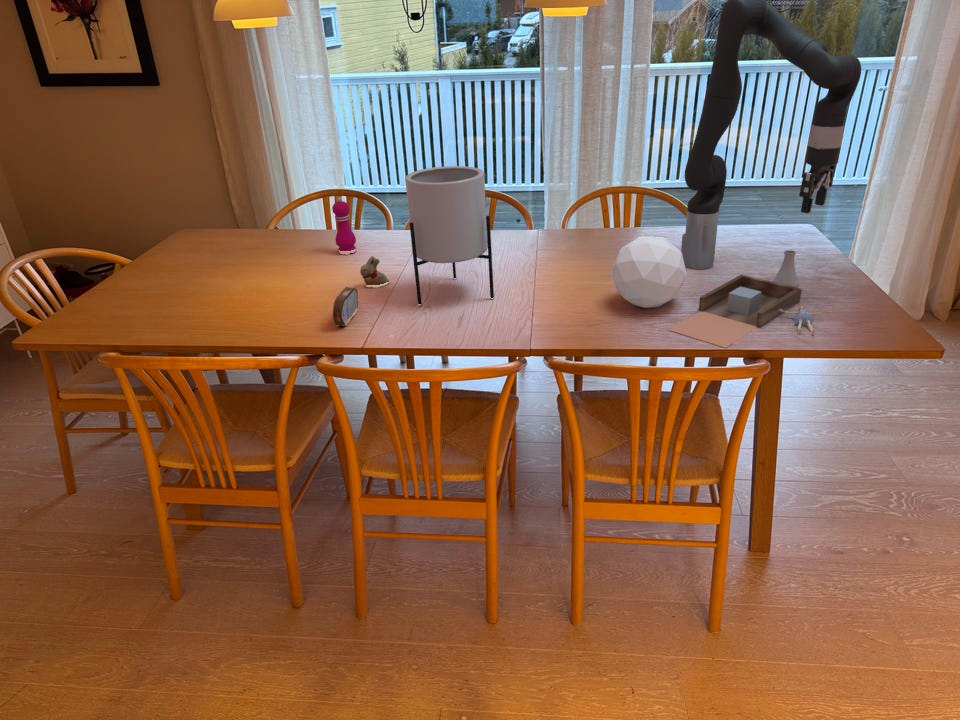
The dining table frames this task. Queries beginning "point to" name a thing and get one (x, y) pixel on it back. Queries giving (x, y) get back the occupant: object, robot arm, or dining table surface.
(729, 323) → the terracotta mat
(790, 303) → the walnut cubby
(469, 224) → the plant pot with stand
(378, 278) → the chocolate bunny
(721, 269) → the dining table surface
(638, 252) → the geometric orb
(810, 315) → the fairy figurine
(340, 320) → the tin
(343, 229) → the pepper mill
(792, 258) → the flask
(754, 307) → the slate block
